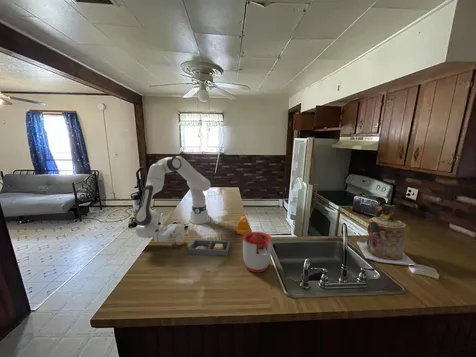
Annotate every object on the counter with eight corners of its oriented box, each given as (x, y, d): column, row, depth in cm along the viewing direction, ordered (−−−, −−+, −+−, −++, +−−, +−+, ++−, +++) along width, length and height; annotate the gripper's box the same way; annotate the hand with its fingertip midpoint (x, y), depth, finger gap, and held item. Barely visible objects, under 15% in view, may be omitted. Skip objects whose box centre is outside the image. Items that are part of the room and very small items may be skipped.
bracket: (237, 235, 158) (237, 219, 156) (236, 231, 165) (236, 216, 163) (251, 234, 159) (252, 219, 157) (250, 230, 166) (250, 215, 164)
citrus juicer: (248, 279, 105) (248, 241, 102) (238, 261, 122) (239, 228, 119) (277, 274, 109) (278, 238, 106) (264, 257, 126) (265, 225, 123)
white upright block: (177, 240, 143) (176, 223, 141) (186, 241, 142) (185, 224, 140) (174, 244, 137) (173, 227, 135) (183, 245, 137) (182, 227, 135)
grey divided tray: (194, 243, 143) (194, 239, 143) (229, 245, 141) (229, 241, 140) (188, 253, 130) (187, 249, 130) (227, 255, 128) (227, 250, 128)
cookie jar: (397, 247, 139) (403, 200, 134) (417, 268, 116) (425, 211, 111) (355, 242, 146) (359, 197, 141) (366, 261, 123) (371, 207, 118)
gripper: (167, 229, 150) (186, 230, 149) (153, 243, 130) (175, 244, 129) (167, 221, 149) (186, 222, 148) (153, 233, 129) (175, 234, 128)
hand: (181, 232), depth 138 cm, fingers closed on white upright block, 4 cm apart
